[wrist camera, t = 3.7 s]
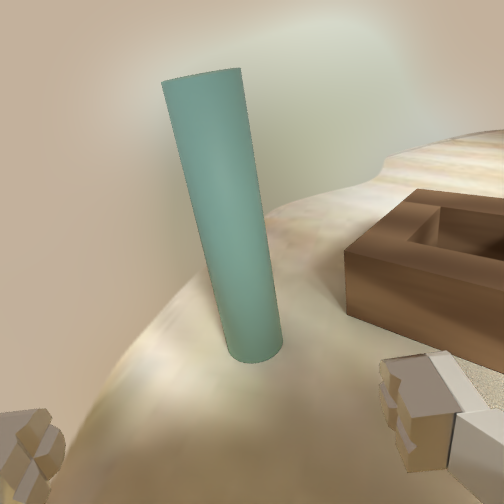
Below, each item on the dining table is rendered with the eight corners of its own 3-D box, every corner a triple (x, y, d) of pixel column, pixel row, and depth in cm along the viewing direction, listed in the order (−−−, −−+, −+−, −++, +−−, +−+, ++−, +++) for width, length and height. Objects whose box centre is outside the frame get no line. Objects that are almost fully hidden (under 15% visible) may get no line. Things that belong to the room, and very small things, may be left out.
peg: (253, 317, 26) (205, 72, 19) (293, 336, 24) (256, 65, 17) (216, 348, 24) (145, 84, 17) (257, 372, 22) (195, 78, 14)
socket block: (414, 244, 32) (417, 188, 29) (581, 279, 25) (604, 210, 22) (346, 314, 25) (344, 250, 23) (548, 390, 18) (574, 309, 16)
